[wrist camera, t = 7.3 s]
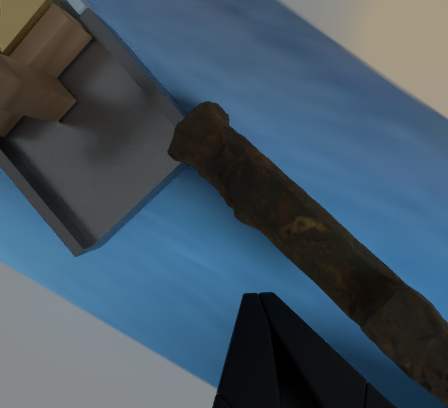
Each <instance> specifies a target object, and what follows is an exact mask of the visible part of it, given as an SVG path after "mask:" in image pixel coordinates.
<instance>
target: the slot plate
mask: <svg viewBox="0 0 448 408" xmlns="http://www.w3.org/2000/svg"><path fill="white" fill-rule="evenodd" d="M80 19H81V20H82V21H83V22H84V23H85V24H86V26H87V27H88V28H87V29H86V30H87V31H88V32H89V33H90V35H91V36H92V37H93V38H92V39H91V40H90V41H89V42H88V43H87V45H86V46H85V47H84V48H83V49H82V50H81V51H80V52H79V54H78V55H77V56H76V57H75V58H74V59H73V60H72V61H71V63H70V64H69V65H68V66H67V67H66V68H65V69H64V70H63V72H62V73H61V74H60V75H59V76H58V77H57V79H58V80H59V81H60V82H61V83H62V85H63V86H64V87H65V88H66V89H67V91H68V92H69V93H70V94H71V95H72V96H73V98H74V99H75V100H76V102H75V103H74V104H73V105H72V106H71V108H70V109H69V110H68V111H67V112H66V113H65V114H64V115H63V116H62V117H61V118H60V119H59V121H58V122H57V123H55V122H51V121H47V120H42V119H38V118H34V117H30V116H25V115H23V117H22V118H21V119H20V120H19V121H18V122H17V123H16V125H15V126H14V127H13V128H12V129H11V130H10V131H9V132H8V134H7V135H6V136H5V137H2V136H0V167H1V168H2V169H3V170H4V172H5V173H6V174H7V175H8V176H9V178H10V179H11V180H12V181H13V182H14V184H15V185H16V186H17V187H18V189H19V190H20V191H21V192H22V193H23V195H24V196H25V197H26V198H27V199H28V201H29V202H30V203H31V204H32V205H33V207H34V208H35V209H36V210H37V211H38V213H39V214H40V215H41V216H42V218H43V219H44V220H45V221H46V222H47V224H48V225H49V226H50V227H51V228H52V230H53V231H54V232H55V233H56V234H57V236H58V237H59V238H60V239H61V241H62V242H63V243H64V244H65V245H66V247H67V248H68V249H69V250H70V251H71V253H72V254H73V255H74V256H75V257H77V256H80V255H82V254H85V253H87V252H90V251H92V250H95V249H97V248H100V247H101V246H102V245H104V244H105V243H106V242H107V241H108V240H109V239H110V238H111V237H112V236H113V235H114V234H115V233H116V232H117V231H119V230H120V229H121V228H122V227H123V226H124V225H125V224H126V223H127V222H128V221H129V220H130V219H131V218H132V217H134V216H135V215H136V214H137V213H138V212H139V211H140V210H141V209H142V208H143V207H144V206H145V205H146V204H147V203H148V202H150V201H151V200H152V199H153V198H154V197H155V196H156V195H157V194H158V193H159V192H160V191H161V190H162V189H163V188H165V187H166V186H167V185H168V184H169V183H170V182H171V181H172V180H173V179H174V178H175V177H176V176H177V175H178V174H180V173H181V172H182V171H183V170H184V169H185V168H186V167H187V166H188V164H187V163H183V162H178V161H175V160H173V159H172V158H171V157H170V156H169V155H168V153H167V151H168V149H169V146H170V143H171V141H172V138H173V134H174V129H175V127H176V126H177V124H178V122H181V121H182V120H183V119H184V118H185V117H186V116H187V115H188V114H187V113H186V112H185V111H184V110H183V109H182V107H181V106H180V105H179V104H178V103H177V102H176V101H175V99H174V98H173V97H172V96H171V95H170V94H169V92H168V91H167V90H166V89H165V88H164V87H163V86H162V84H161V83H160V82H159V81H158V80H157V79H156V78H155V76H154V75H153V74H152V73H151V72H150V71H149V69H148V68H147V67H146V66H145V65H144V64H143V63H142V61H141V60H140V59H139V58H138V57H137V56H136V55H135V53H134V52H133V51H132V50H131V49H130V48H129V46H128V45H127V44H126V43H125V42H124V41H123V40H122V38H121V37H120V36H119V35H118V34H117V33H116V32H115V30H114V29H112V28H111V27H110V26H109V25H108V24H107V23H106V22H104V21H103V20H102V19H101V18H100V17H99V16H98V15H96V14H95V13H94V12H93V11H92V10H91V9H90V8H88V9H87V10H86V11H85V13H84V14H83V15H82V16H81V17H80Z"/></svg>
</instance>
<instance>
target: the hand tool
mask: <svg viewBox="0 0 448 408" xmlns="http://www.w3.org/2000/svg"><path fill="white" fill-rule="evenodd" d="M167 153H168V155H169V156H170V157H171V158H172V159H173V160H175V161H178V162H183V163H187V164H188V165H190V166H191V167H193V168H195V169H197V171H198V172H199V173H200V175H201V176H202V177H204V178H206V179H207V180H208V181H209V182H210V183H211V184H212V185H213V186H214V188H215V189H216V190H217V191H218V192H219V193H220V195H221V196H222V197H223V198H224V200H225V201H226V203H227V205H228V206H230V207H231V208H233V209H234V215H235V217H236V218H237V219H238V220H239V221H241V222H242V223H244V224H247V225H249V226H251V227H253V228H256V229H258V230H260V231H261V232H262V233H263V234H264V235H265V236H266V237H267V238H268V239H269V240H270V241H271V242H272V243H273V244H274V245H275V246H276V247H277V248H278V249H279V250H280V251H281V252H282V253H283V254H284V255H285V256H286V257H287V258H288V259H289V260H291V261H292V262H293V263H294V264H295V265H296V266H297V267H298V268H299V269H300V270H302V271H303V272H304V273H305V274H306V275H307V276H308V277H309V278H310V279H312V280H313V281H314V282H315V283H316V284H317V285H318V286H319V287H320V288H321V289H322V290H323V291H324V292H325V293H326V294H327V295H328V296H329V297H330V298H331V299H332V300H333V301H334V302H335V304H336V305H337V306H338V307H339V308H340V309H341V310H342V311H343V312H344V313H345V314H346V315H347V316H348V317H349V318H350V319H352V320H353V321H355V322H356V323H357V324H358V325H359V326H360V327H361V330H362V331H363V332H364V333H365V334H366V335H367V337H368V338H369V339H370V340H371V341H373V342H374V343H375V344H376V345H377V346H378V348H379V349H380V350H381V351H382V352H383V353H384V354H385V355H386V356H387V357H389V358H390V359H391V360H392V361H393V362H394V363H395V364H396V365H397V366H398V367H399V368H400V369H401V370H402V371H403V372H404V373H405V374H406V375H407V376H408V377H410V378H411V379H413V380H414V381H415V382H417V383H418V384H419V385H421V386H422V387H424V388H425V389H426V390H427V391H428V392H429V393H430V394H431V395H433V396H434V397H435V398H437V399H438V400H439V401H441V402H442V403H443V404H444V405H446V406H447V407H448V323H447V321H446V320H444V319H443V318H442V316H441V315H440V313H439V312H438V311H437V310H436V308H435V307H434V306H433V304H432V303H430V302H429V301H428V300H427V299H426V298H425V297H424V296H423V295H422V294H420V293H419V292H417V291H416V290H414V289H412V288H411V287H409V286H408V285H407V284H406V283H405V282H403V281H402V280H401V279H400V278H399V277H398V276H397V275H396V274H395V273H394V272H393V271H392V270H391V269H390V268H389V267H388V266H387V265H385V264H384V263H383V262H382V261H381V260H380V259H378V258H377V257H376V256H375V255H374V254H373V253H372V252H371V251H370V250H368V249H367V248H366V247H365V246H364V245H363V244H361V243H360V242H359V241H358V240H357V239H356V238H354V237H353V235H352V234H351V233H350V232H349V231H348V230H347V229H345V228H344V227H343V226H342V225H341V224H340V223H339V222H338V221H337V220H336V219H335V218H334V217H333V216H332V215H331V214H330V213H328V212H327V211H326V210H325V209H324V208H323V207H322V206H321V205H320V204H319V203H317V202H316V201H315V200H314V199H312V198H311V197H310V196H309V195H308V194H307V193H306V192H305V191H304V190H303V189H302V188H301V187H300V186H298V185H297V184H296V183H295V182H294V181H292V180H291V179H290V178H289V177H288V176H287V175H285V174H284V173H283V172H282V171H281V170H280V169H279V168H278V167H277V166H276V165H275V164H274V163H273V162H272V161H271V160H269V159H268V158H267V157H266V156H265V155H263V154H262V153H261V152H260V151H259V150H258V149H257V148H256V147H255V146H253V145H252V144H251V143H250V142H249V141H248V140H247V139H246V138H245V137H244V136H242V135H240V134H239V133H237V132H236V131H235V130H234V129H233V128H232V127H230V126H229V116H228V114H226V113H225V111H224V110H223V109H222V108H221V107H220V105H218V104H217V103H212V102H210V101H208V102H207V101H206V102H204V103H201V104H199V105H198V106H197V107H196V108H194V109H193V110H192V111H191V112H190V113H189V114H188V115H187V116H186V117H185V118H184V119H183V120H182V121H181V122H178V124H177V126H176V127H175V129H174V134H173V138H172V141H171V143H170V146H169V149H168V151H167Z"/></svg>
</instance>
